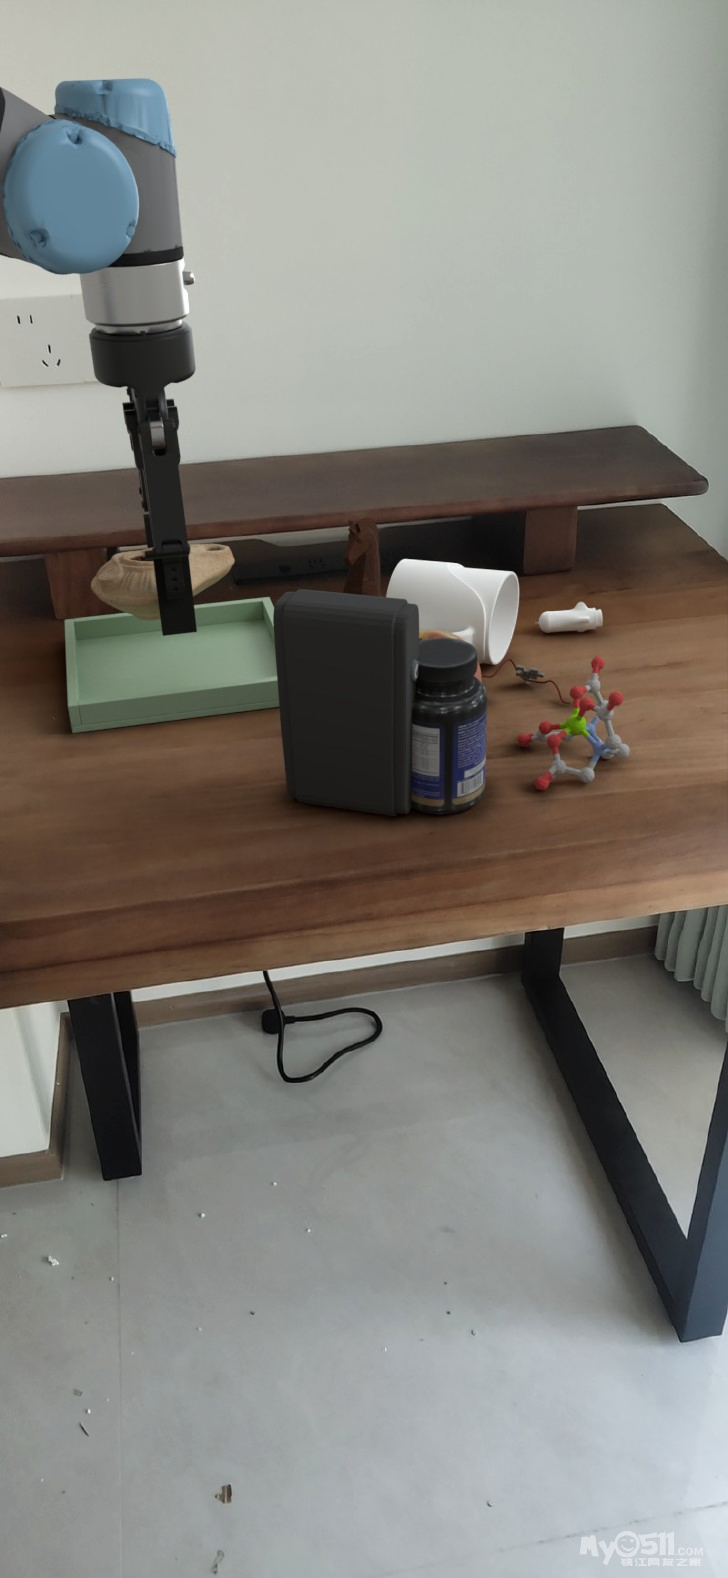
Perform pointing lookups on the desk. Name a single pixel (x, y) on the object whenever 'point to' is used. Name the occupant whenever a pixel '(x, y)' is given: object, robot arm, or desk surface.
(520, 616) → the desk surface
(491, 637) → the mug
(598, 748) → the molecular model
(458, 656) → the pill bottle
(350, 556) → the chess piece
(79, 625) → the tray
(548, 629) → the small white plastic part
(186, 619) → the robot arm
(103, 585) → the pottery oil lamp
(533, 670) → the pendant
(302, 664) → the dark grey rectangular block
